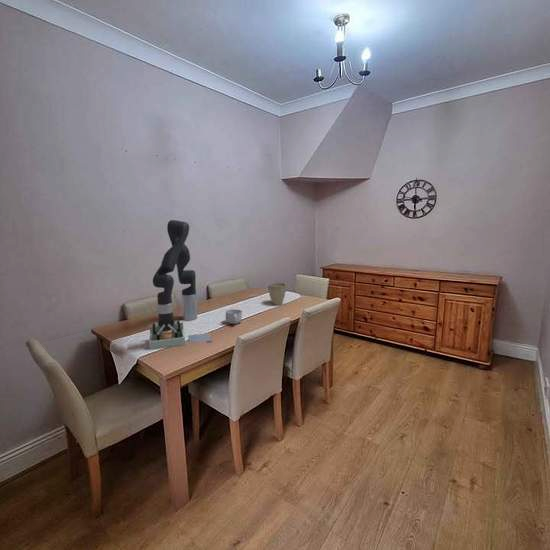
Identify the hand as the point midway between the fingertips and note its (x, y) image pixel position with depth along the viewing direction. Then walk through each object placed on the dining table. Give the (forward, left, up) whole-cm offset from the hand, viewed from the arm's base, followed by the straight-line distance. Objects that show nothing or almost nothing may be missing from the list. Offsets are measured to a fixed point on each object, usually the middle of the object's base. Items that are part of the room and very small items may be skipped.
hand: (167, 339), depth 166 cm
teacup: (-20, +41, -3) cm, 46 cm away
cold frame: (0, 0, -2) cm, 2 cm away
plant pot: (-53, +83, -3) cm, 99 cm away
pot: (0, 0, -1) cm, 1 cm away
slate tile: (0, +17, -2) cm, 17 cm away
